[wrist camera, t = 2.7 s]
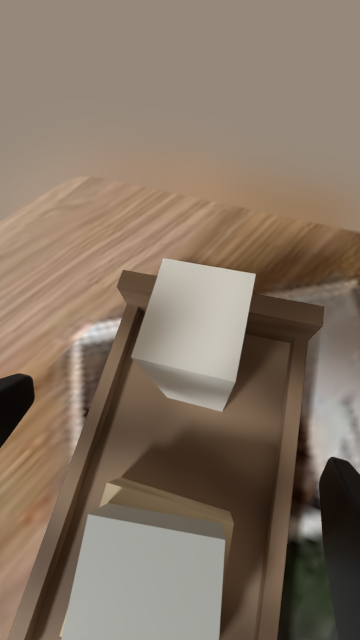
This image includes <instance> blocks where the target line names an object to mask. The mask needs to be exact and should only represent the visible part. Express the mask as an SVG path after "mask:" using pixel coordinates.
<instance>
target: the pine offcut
mask: <svg viewBox="0 0 360 640" xmlns="http://www.w3.org/2000/svg"><path fill="white" fill-rule="evenodd" d="M106 503H111V504H117V505H122V506H128V507H133V508H139V509H145V510H150V511H156V512H161V513H167V514H173V515H178V516H184V517H189V518H195V519H200V520H206V521H212V522H217V523H222V524H223V530H224V536H225V552H224V568H223V584H222V594H223V588H224V582H225V575H226V569H227V563H228V557H229V551H230V545H231V538H232V532H233V526H234V522H233V519H232V516H231V513H230V512H229V511H226V510H223V509H219V508H216V507H213V506H210V505H207V504H204V503H200V502H197V501H194V500H191V499H188V498H185V497H182V496H178V495H175V494H172V493H169V492H166V491H163V490H160V489H156V488H153V487H150V486H147V485H144V484H141V483H137V482H134V481H131V480H128V479H125V478H122V477H120V478H117V479H115V480H112V481H109V482H107V484H106V487H105V490H104V493H103V497H102V500H101V503H100V506H99V507H101V506H103V505H105V504H106ZM66 615H67V613H66ZM65 620H66V616H65V619H64V622H63V626H62V629H61V632H60V635H59V636H60V637H62V634H63V629H64V624H65Z"/></svg>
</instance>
